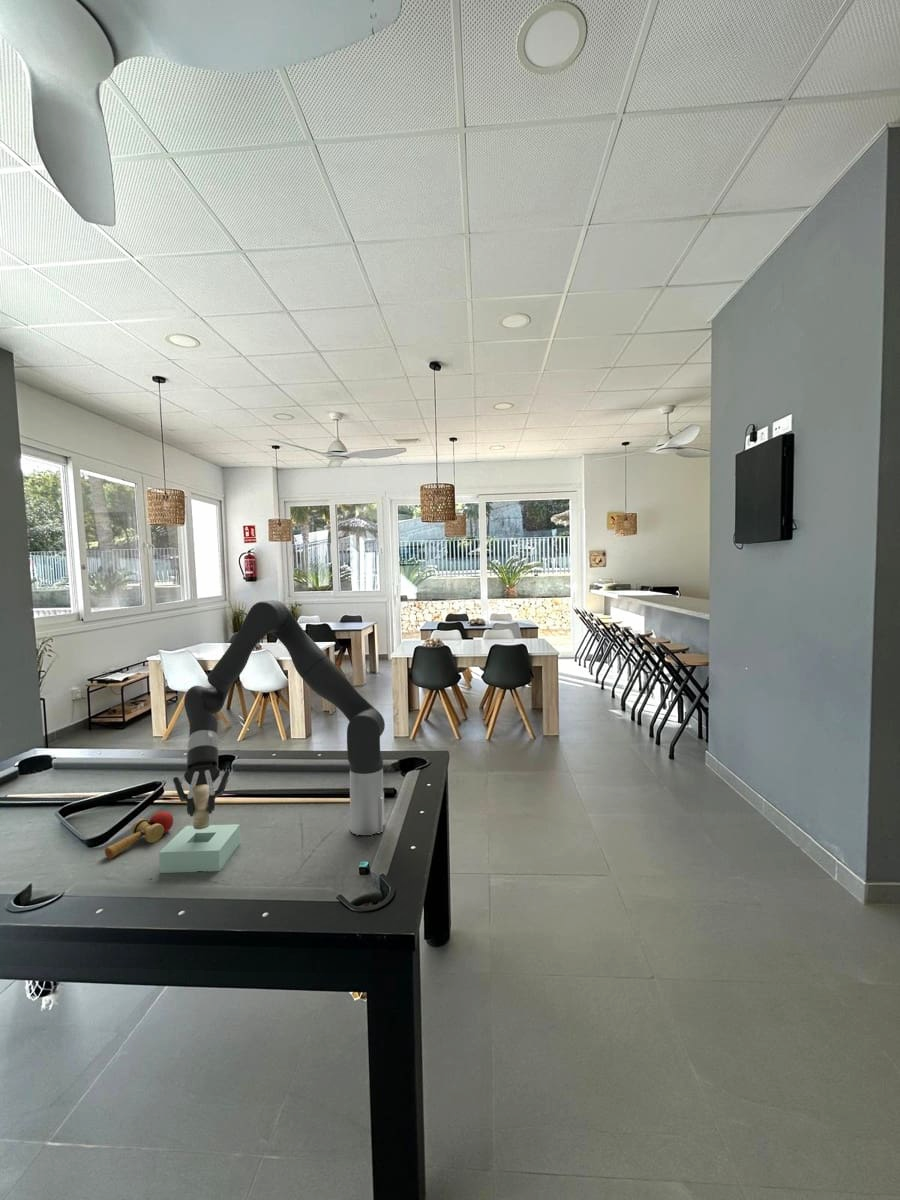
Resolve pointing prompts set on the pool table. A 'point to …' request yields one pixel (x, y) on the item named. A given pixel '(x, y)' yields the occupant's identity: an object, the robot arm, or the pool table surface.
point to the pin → (201, 806)
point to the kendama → (143, 832)
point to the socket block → (199, 849)
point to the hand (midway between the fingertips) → (201, 813)
